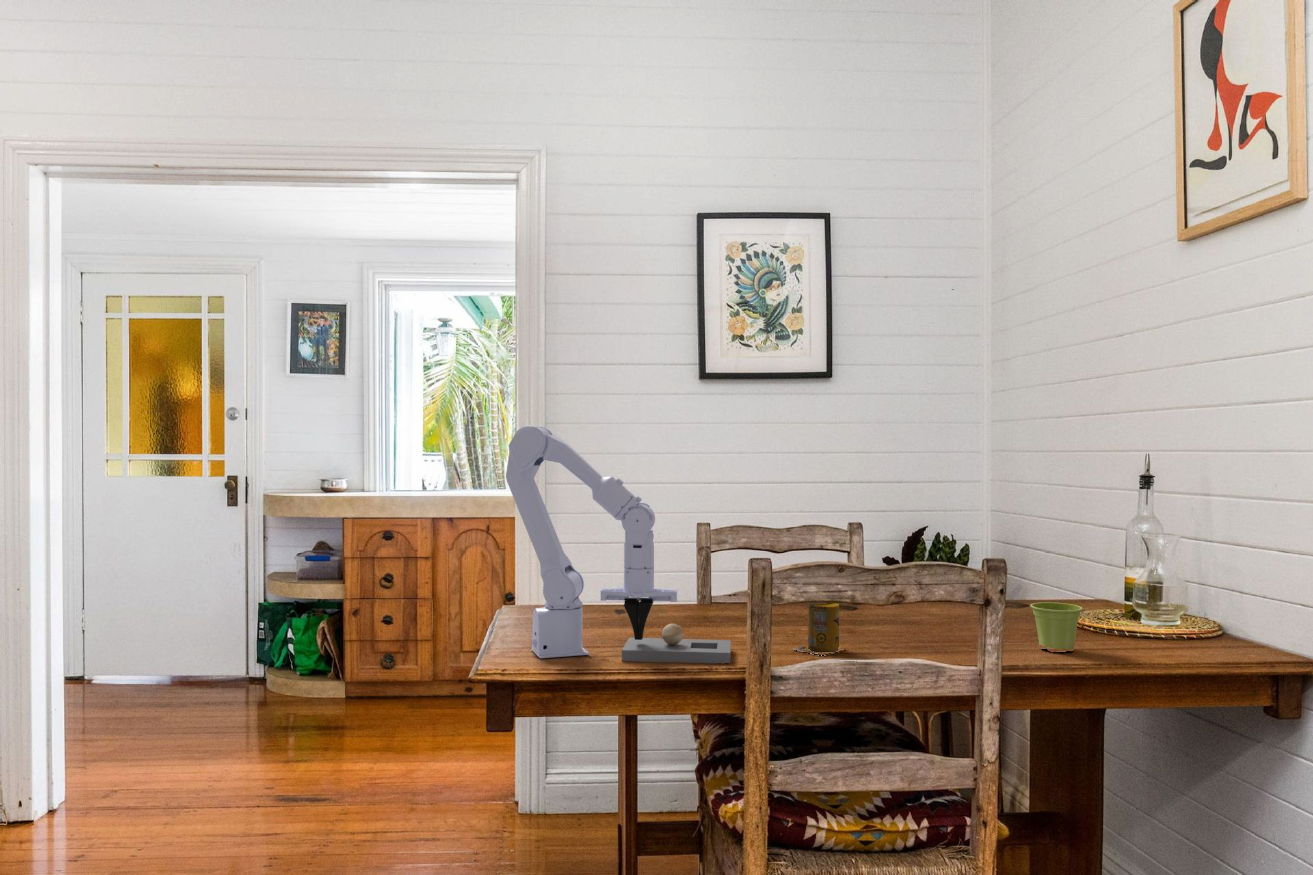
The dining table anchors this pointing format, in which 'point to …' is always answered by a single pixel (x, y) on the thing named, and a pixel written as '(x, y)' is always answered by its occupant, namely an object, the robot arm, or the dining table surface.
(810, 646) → the condiment
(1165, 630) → the dining table surface
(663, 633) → the ball
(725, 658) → the board
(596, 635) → the dining table surface
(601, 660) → the dining table surface
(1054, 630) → the plant pot
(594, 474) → the robot arm
